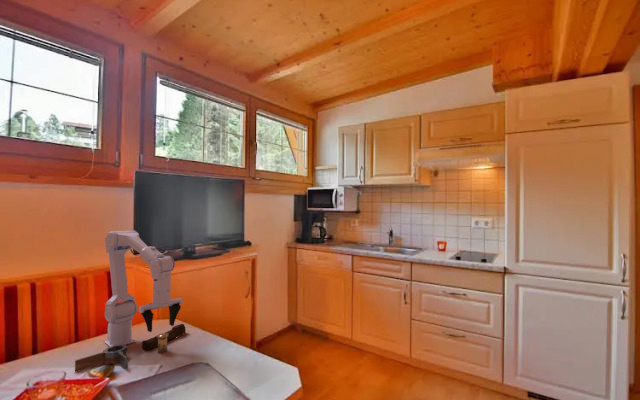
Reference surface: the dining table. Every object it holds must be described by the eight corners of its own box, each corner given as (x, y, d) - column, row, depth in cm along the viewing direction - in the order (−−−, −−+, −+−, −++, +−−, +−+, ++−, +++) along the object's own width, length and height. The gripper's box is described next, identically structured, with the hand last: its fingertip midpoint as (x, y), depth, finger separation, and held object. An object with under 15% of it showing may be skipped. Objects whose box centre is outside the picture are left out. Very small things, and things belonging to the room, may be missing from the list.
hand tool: (147, 352, 111) (148, 339, 111) (140, 350, 113) (141, 337, 113) (189, 334, 128) (190, 323, 128) (183, 333, 130) (183, 322, 130)
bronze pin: (154, 352, 111) (155, 335, 111) (165, 348, 114) (165, 332, 114) (159, 355, 108) (159, 337, 109) (169, 351, 111) (170, 334, 112)
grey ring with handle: (100, 359, 105) (101, 349, 105) (122, 353, 110) (122, 343, 110) (114, 372, 96) (115, 361, 96) (137, 365, 101) (137, 354, 101)
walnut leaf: (72, 368, 99) (73, 357, 99) (122, 353, 110) (122, 343, 110) (77, 374, 95) (78, 363, 95) (128, 358, 106) (129, 348, 106)
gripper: (144, 296, 103) (143, 336, 102) (186, 288, 114) (185, 325, 113) (136, 292, 107) (135, 331, 106) (177, 285, 118) (177, 320, 118)
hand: (160, 328), depth 110 cm, fingers open, 7 cm apart
